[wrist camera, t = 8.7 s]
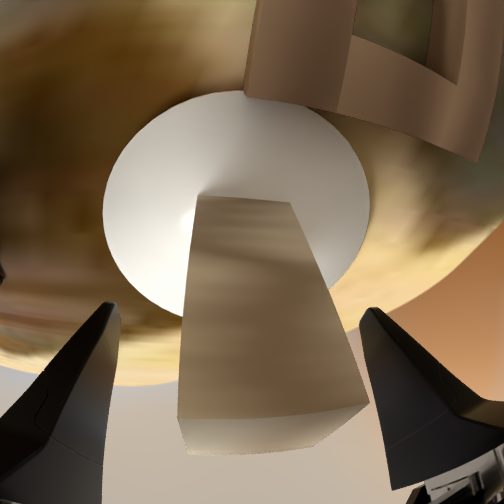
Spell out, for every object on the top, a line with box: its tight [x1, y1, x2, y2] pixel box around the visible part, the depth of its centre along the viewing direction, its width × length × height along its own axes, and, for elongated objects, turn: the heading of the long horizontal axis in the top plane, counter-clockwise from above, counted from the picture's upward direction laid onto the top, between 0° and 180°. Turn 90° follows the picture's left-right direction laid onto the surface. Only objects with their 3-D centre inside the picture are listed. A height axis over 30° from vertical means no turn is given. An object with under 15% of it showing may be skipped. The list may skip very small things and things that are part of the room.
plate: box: [103, 90, 370, 316], centre depth 13 cm, size 13×13×1 cm
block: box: [177, 195, 370, 455], centre depth 9 cm, size 4×4×9 cm
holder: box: [243, 0, 504, 164], centre depth 6 cm, size 11×11×2 cm
